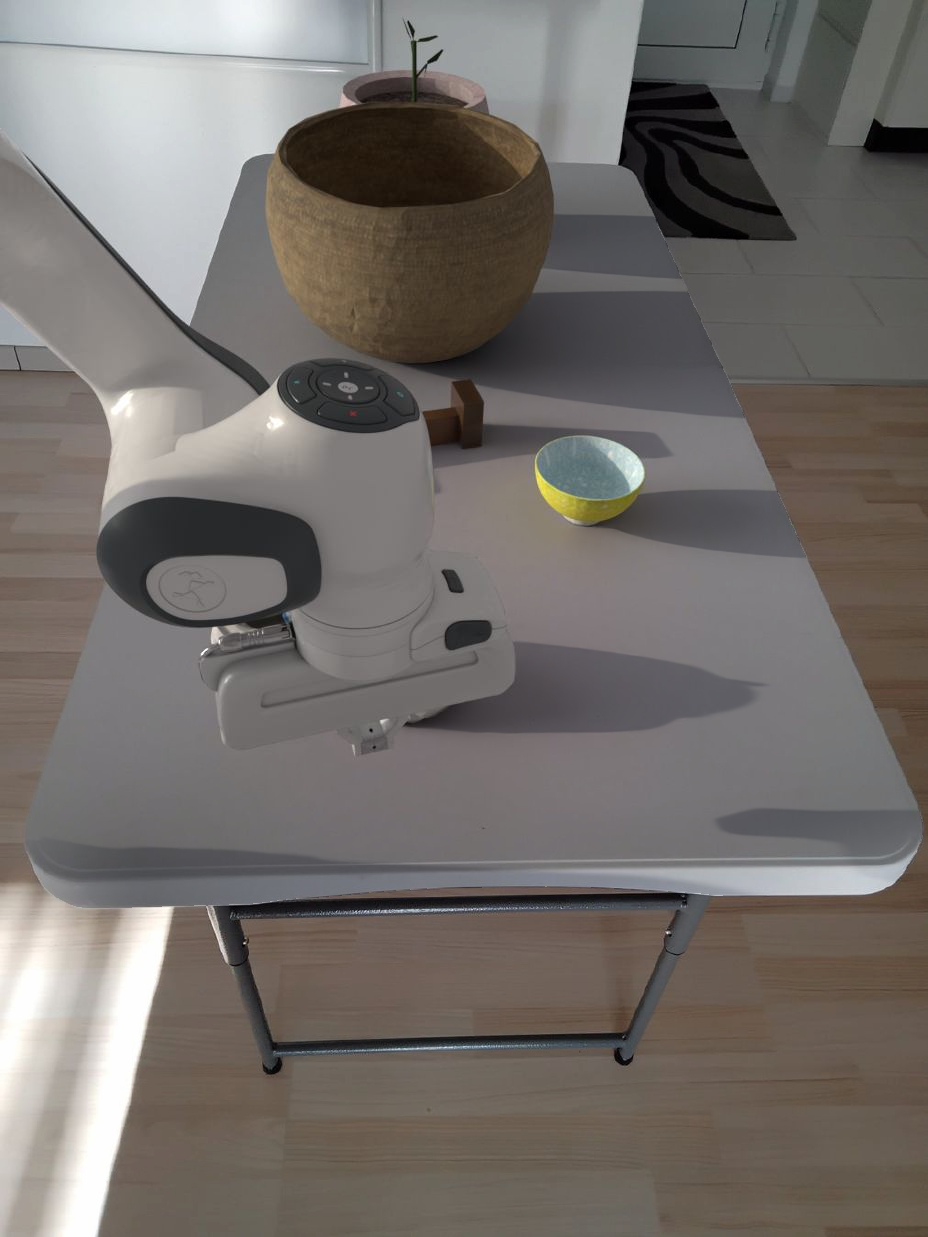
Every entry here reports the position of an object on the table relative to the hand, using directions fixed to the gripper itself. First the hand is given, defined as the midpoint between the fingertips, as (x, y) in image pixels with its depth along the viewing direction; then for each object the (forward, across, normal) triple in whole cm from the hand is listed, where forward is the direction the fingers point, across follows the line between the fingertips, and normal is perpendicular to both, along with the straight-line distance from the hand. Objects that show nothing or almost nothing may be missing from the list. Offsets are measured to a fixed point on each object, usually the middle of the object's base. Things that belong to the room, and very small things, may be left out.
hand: (372, 745), depth 67 cm
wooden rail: (+8, +8, +47) cm, 48 cm away
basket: (+8, +22, +72) cm, 76 cm away
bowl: (+8, +30, +30) cm, 43 cm away
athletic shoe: (+8, 0, +14) cm, 16 cm away
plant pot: (+8, +31, +104) cm, 109 cm away
